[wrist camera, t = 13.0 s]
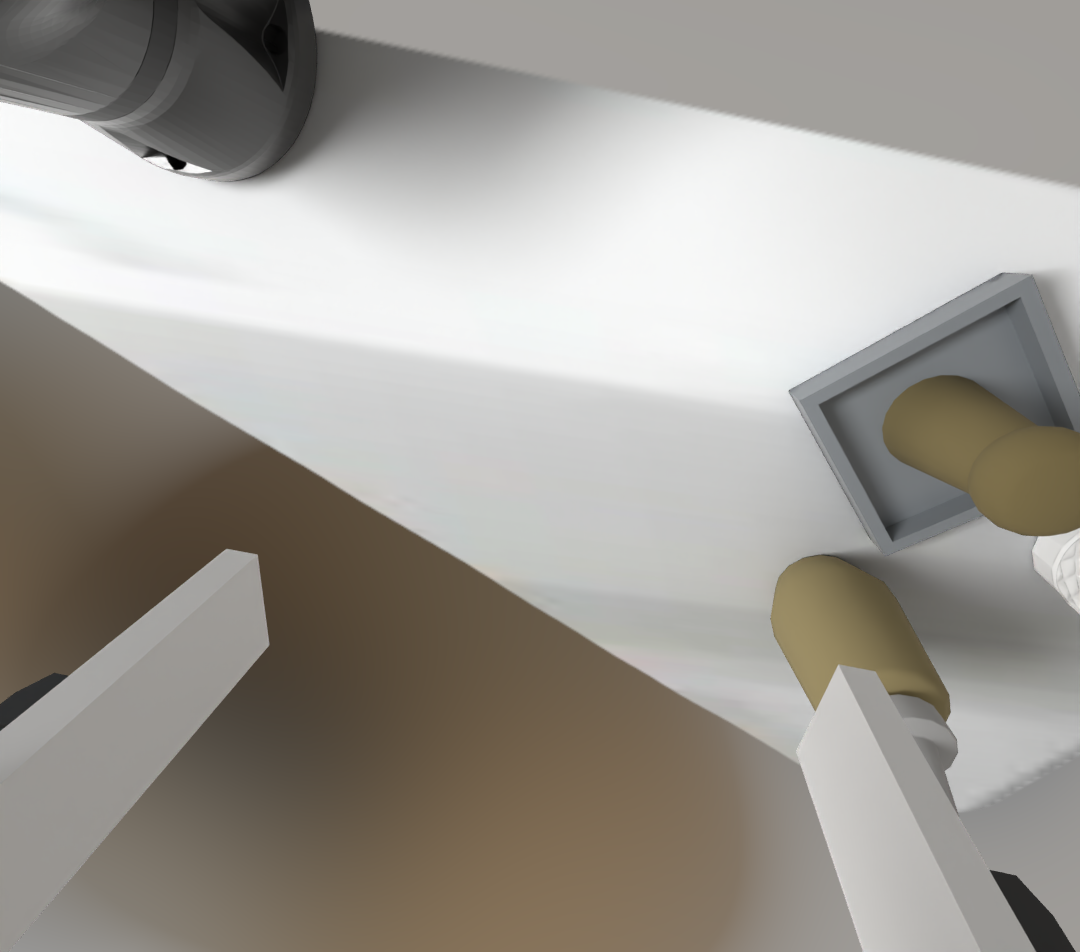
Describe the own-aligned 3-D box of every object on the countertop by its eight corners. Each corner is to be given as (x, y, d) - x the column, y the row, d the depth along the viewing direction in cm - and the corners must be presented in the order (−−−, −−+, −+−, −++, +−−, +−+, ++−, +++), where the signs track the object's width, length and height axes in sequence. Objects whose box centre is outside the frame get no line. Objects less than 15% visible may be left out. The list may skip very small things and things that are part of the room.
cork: (885, 381, 33) (997, 439, 23) (998, 368, 32) (1168, 423, 22) (879, 471, 35) (978, 561, 25) (984, 462, 34) (1132, 552, 24)
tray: (788, 390, 35) (799, 400, 32) (1002, 272, 30) (1031, 274, 28) (869, 537, 38) (885, 556, 35) (1074, 449, 33) (1106, 464, 31)
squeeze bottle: (890, 610, 40) (1073, 865, 23) (782, 643, 42) (878, 894, 26) (854, 523, 38) (1028, 737, 21) (742, 564, 40) (819, 782, 24)
